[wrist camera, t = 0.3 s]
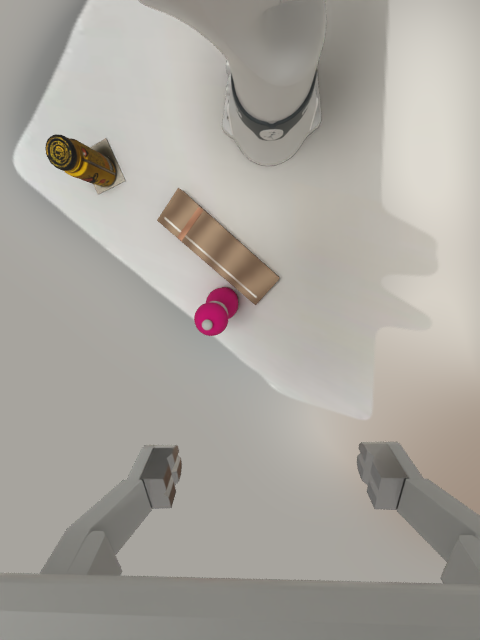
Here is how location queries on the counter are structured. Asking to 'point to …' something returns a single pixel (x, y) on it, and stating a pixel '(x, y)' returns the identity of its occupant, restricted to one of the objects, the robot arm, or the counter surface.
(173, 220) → the board
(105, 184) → the condiment
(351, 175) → the counter surface
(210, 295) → the pepper mill
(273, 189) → the counter surface
